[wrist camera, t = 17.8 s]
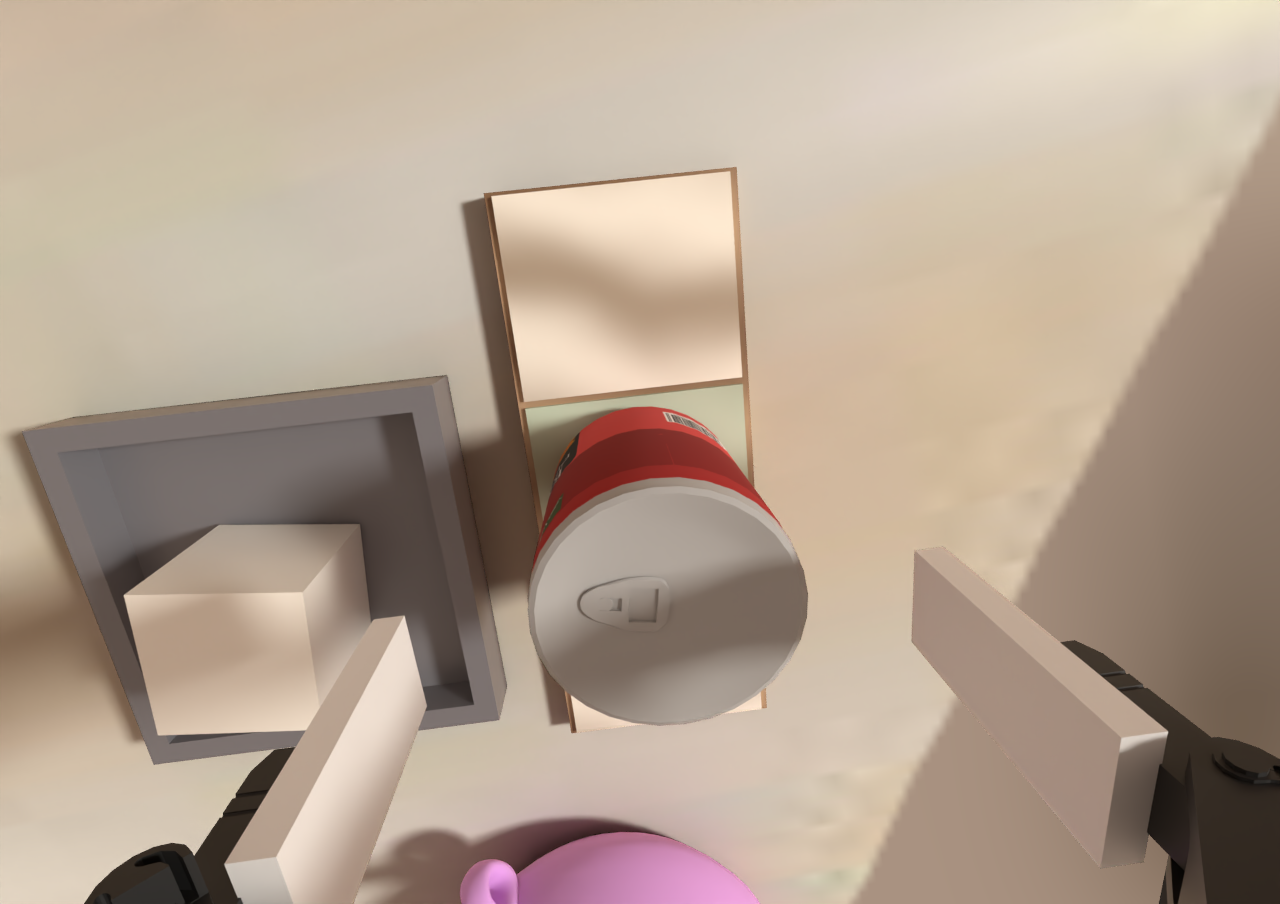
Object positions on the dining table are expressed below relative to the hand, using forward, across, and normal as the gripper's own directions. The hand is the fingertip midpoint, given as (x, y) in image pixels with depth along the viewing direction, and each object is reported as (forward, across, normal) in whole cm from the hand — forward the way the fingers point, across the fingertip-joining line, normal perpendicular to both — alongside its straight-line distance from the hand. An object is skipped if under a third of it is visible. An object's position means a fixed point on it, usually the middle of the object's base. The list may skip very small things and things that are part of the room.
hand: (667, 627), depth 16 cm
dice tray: (+14, -16, -3) cm, 21 cm away
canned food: (+12, 0, -1) cm, 12 cm away
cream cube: (+10, -16, -1) cm, 18 cm away
